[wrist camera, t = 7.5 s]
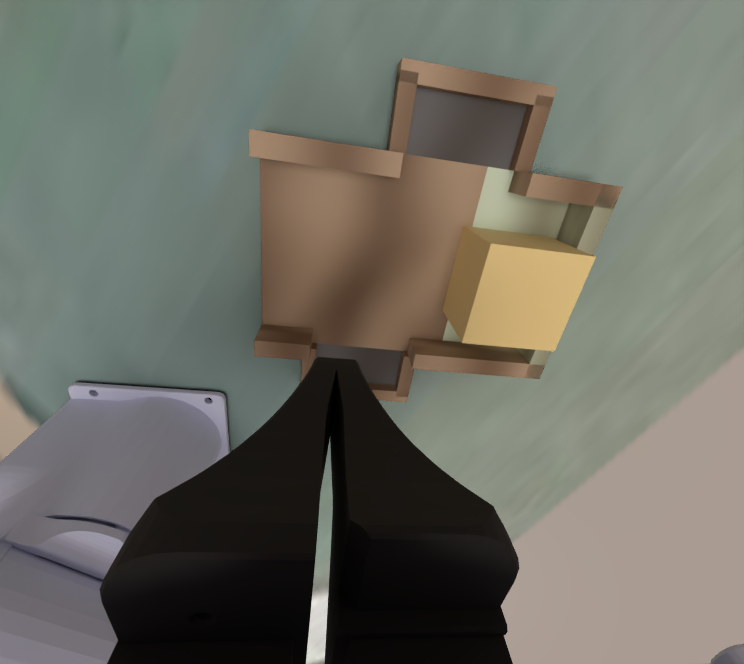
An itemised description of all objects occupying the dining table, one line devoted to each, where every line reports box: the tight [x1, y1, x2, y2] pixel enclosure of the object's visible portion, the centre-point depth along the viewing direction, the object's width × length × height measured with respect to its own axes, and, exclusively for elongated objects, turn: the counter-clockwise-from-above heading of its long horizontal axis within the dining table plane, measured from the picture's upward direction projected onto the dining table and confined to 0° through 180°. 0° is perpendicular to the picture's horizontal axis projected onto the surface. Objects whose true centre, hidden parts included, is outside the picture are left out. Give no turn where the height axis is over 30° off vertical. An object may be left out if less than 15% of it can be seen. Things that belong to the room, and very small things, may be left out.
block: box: [443, 226, 596, 351], centre depth 18 cm, size 5×5×4 cm
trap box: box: [249, 58, 623, 402], centre depth 19 cm, size 17×18×2 cm
